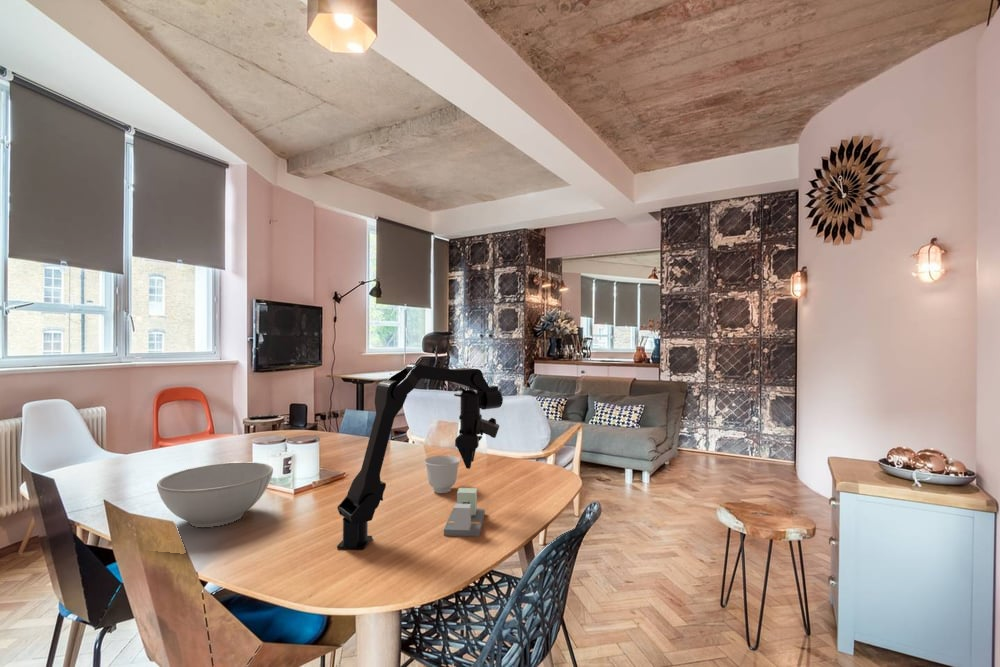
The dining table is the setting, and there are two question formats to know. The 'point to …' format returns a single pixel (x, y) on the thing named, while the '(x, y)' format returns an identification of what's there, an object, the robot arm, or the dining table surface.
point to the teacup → (442, 472)
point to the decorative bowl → (214, 491)
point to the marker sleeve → (468, 498)
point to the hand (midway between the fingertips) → (470, 464)
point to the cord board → (473, 528)
